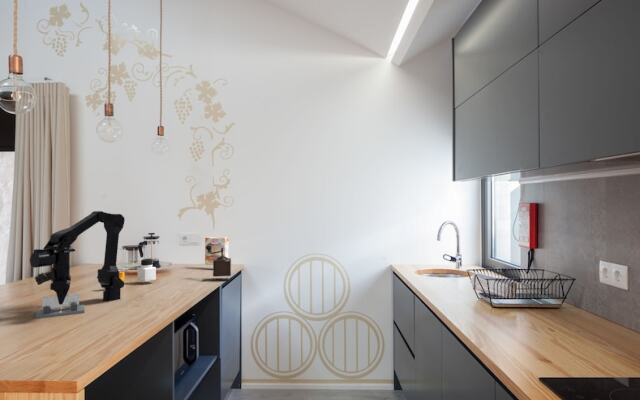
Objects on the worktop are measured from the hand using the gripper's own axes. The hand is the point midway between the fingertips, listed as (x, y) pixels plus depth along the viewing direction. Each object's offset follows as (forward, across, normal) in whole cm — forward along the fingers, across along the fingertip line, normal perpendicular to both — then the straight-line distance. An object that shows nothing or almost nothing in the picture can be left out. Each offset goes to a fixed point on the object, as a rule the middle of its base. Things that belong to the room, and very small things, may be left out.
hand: (61, 303), depth 157 cm
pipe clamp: (+4, -46, +21) cm, 51 cm away
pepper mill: (+4, -50, +78) cm, 93 cm away
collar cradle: (+4, 0, 0) cm, 4 cm away
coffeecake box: (+4, -90, +89) cm, 127 cm away
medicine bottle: (+4, -54, +38) cm, 67 cm away
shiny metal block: (+1, 0, 0) cm, 1 cm away
